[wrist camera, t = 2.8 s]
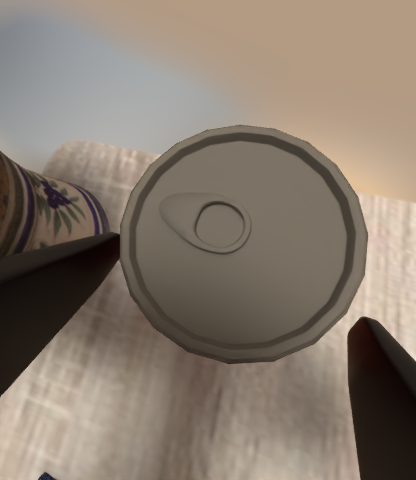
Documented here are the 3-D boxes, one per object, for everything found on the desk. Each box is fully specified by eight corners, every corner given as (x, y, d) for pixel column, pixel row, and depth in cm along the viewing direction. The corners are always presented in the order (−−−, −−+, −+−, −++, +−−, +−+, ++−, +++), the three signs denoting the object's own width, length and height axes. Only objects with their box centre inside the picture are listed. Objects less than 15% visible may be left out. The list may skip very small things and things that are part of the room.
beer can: (210, 220, 18) (165, 81, 6) (292, 248, 16) (430, 143, 5) (177, 298, 17) (45, 311, 5) (262, 336, 15) (351, 470, 4)
